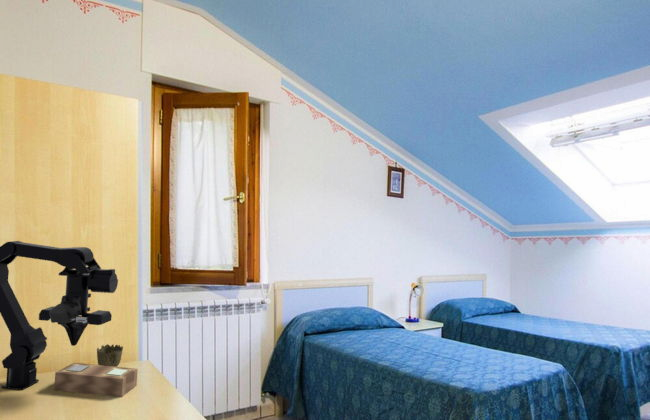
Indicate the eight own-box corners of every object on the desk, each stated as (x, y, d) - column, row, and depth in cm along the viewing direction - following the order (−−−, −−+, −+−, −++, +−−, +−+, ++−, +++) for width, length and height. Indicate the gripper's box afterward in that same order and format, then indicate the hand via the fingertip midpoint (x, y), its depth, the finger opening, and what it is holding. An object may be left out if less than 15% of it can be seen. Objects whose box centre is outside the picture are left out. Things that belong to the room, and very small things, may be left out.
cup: (110, 378, 133) (112, 352, 133) (89, 375, 135) (91, 349, 135) (126, 370, 140) (128, 345, 141) (106, 367, 142) (107, 342, 142)
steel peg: (65, 386, 125) (66, 369, 125) (74, 381, 129) (75, 365, 129) (78, 387, 125) (79, 371, 125) (87, 382, 129) (88, 366, 129)
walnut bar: (54, 390, 123) (55, 372, 123) (72, 379, 131) (73, 362, 131) (121, 396, 122) (122, 378, 122) (136, 385, 130) (137, 368, 130)
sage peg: (105, 390, 124) (106, 373, 124) (113, 385, 128) (114, 368, 128) (119, 391, 124) (120, 375, 124) (126, 386, 128) (127, 369, 128)
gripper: (25, 294, 119) (21, 351, 119) (90, 299, 117) (87, 357, 117) (54, 287, 130) (51, 339, 130) (114, 291, 128) (110, 344, 128)
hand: (73, 345), depth 126 cm, fingers closed
